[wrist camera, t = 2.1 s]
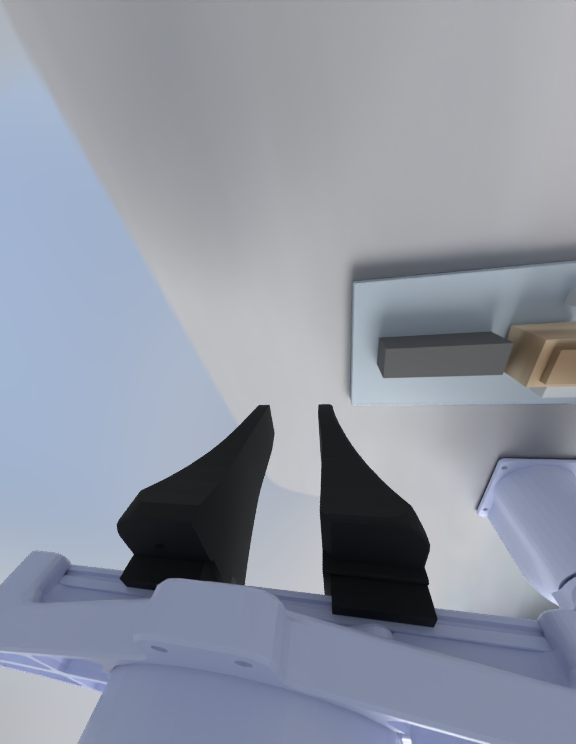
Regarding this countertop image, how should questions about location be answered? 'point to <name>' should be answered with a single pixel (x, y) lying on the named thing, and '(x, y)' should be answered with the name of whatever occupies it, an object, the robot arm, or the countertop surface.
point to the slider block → (543, 354)
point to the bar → (443, 355)
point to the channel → (456, 329)
